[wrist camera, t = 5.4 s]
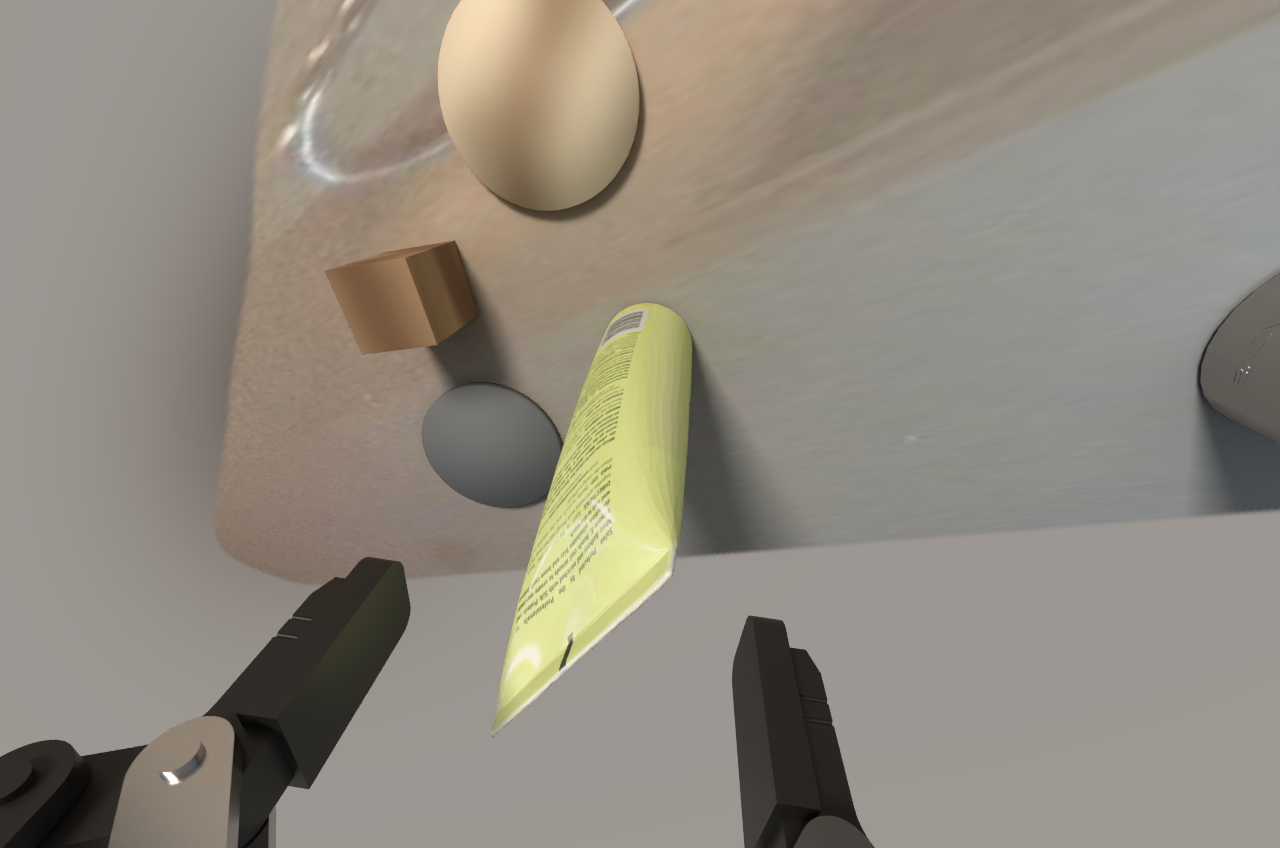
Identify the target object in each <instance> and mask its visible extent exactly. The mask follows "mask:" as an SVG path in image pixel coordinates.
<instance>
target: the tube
mask: <svg viewBox="0 0 1280 848" xmlns="http://www.w3.org/2000/svg"><path fill="white" fill-rule="evenodd" d="M691 374H692V339H691V335H690V332H689V330H688V328H687V326H686V324H685V322H684V321H683V320H682V319H681V318H680V317H679V316H678V315H677V314H676V313H675V312H674V311H672V310H670V309H669V308H666V307H664V306H661V305H658V304H653V303H642V304H637V305H633V306H630V307H628V308H626V309H624V310H622V311H621V312H619V313H618V314H617V315H616V316H615V317H614V318H613V320H612V321H611V322H610V324H609V325H608V327H607V329H606V331H605V334H604V336H603V338H602V340H601V343H600V345H599V348H598V350H597V353H596V355H595V358H594V360H593V363H592V365H591V368H590V370H589V373H588V375H587V378H586V381H585V383H584V386H583V389H582V392H581V394H580V397H579V400H578V403H577V406H576V409H575V412H574V414H573V417H572V420H571V423H570V426H569V429H568V433H567V436H566V439H565V442H564V445H563V448H562V451H561V455H560V458H559V461H558V464H557V467H556V471H555V474H554V477H553V481H552V484H551V487H550V491H549V494H548V497H547V501H546V504H545V507H544V511H543V515H542V518H541V522H540V525H539V529H538V533H537V536H536V540H535V543H534V547H533V550H532V554H531V557H530V561H529V564H528V568H527V572H526V575H525V579H524V582H523V586H522V589H521V593H520V598H519V601H518V606H517V610H516V614H515V618H514V622H513V626H512V630H511V635H510V640H509V644H508V648H507V653H506V657H505V662H504V667H503V672H502V677H501V683H500V688H499V695H498V703H497V715H496V718H495V721H494V724H493V727H492V731H491V736H492V737H495V736H496V735H497V734H498V733H499V732H500V731H501V730H502V729H503V728H504V727H505V726H506V725H508V724H509V722H511V721H512V720H513V719H514V718H515V717H516V716H517V715H518V714H519V713H520V712H521V711H523V710H524V709H525V708H526V707H527V706H528V705H529V704H531V703H532V702H533V701H534V700H535V699H536V698H537V697H538V696H539V695H541V694H542V693H543V692H544V691H545V690H546V689H547V688H549V687H550V686H551V685H552V684H553V683H554V682H555V681H556V680H557V679H558V678H559V677H560V676H561V675H562V674H563V673H565V672H566V670H568V669H569V668H570V667H571V666H572V665H573V664H575V663H576V662H577V661H578V660H579V659H581V658H582V657H583V656H584V655H585V654H586V653H587V652H589V650H591V649H592V648H593V647H594V646H596V645H597V644H598V643H599V642H600V641H601V640H602V639H603V638H604V637H606V636H607V635H608V634H609V633H610V632H611V631H613V630H614V629H615V628H616V627H617V626H618V625H619V624H620V623H622V622H623V621H624V620H626V619H627V618H628V617H629V616H630V615H631V614H633V613H634V612H635V611H636V610H637V609H638V608H640V607H641V606H642V605H643V604H644V603H645V602H646V601H647V600H648V599H649V598H650V597H651V596H652V595H653V594H655V593H656V592H657V591H658V590H660V589H661V588H662V587H663V586H664V585H665V584H666V583H667V582H668V581H669V580H670V579H671V578H672V575H673V572H674V566H675V560H676V554H677V551H678V546H679V540H680V533H681V523H682V512H683V499H684V485H685V473H686V462H687V448H688V431H689V416H690V396H691Z"/></svg>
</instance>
